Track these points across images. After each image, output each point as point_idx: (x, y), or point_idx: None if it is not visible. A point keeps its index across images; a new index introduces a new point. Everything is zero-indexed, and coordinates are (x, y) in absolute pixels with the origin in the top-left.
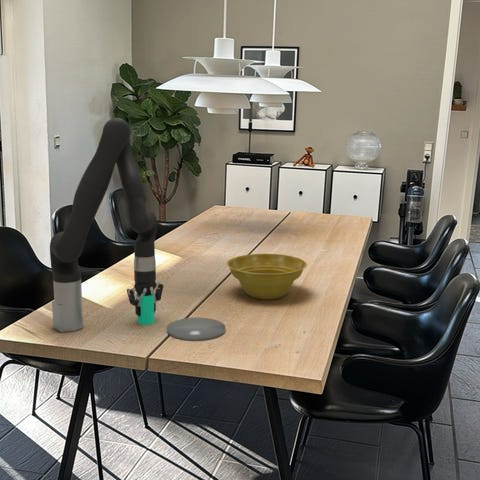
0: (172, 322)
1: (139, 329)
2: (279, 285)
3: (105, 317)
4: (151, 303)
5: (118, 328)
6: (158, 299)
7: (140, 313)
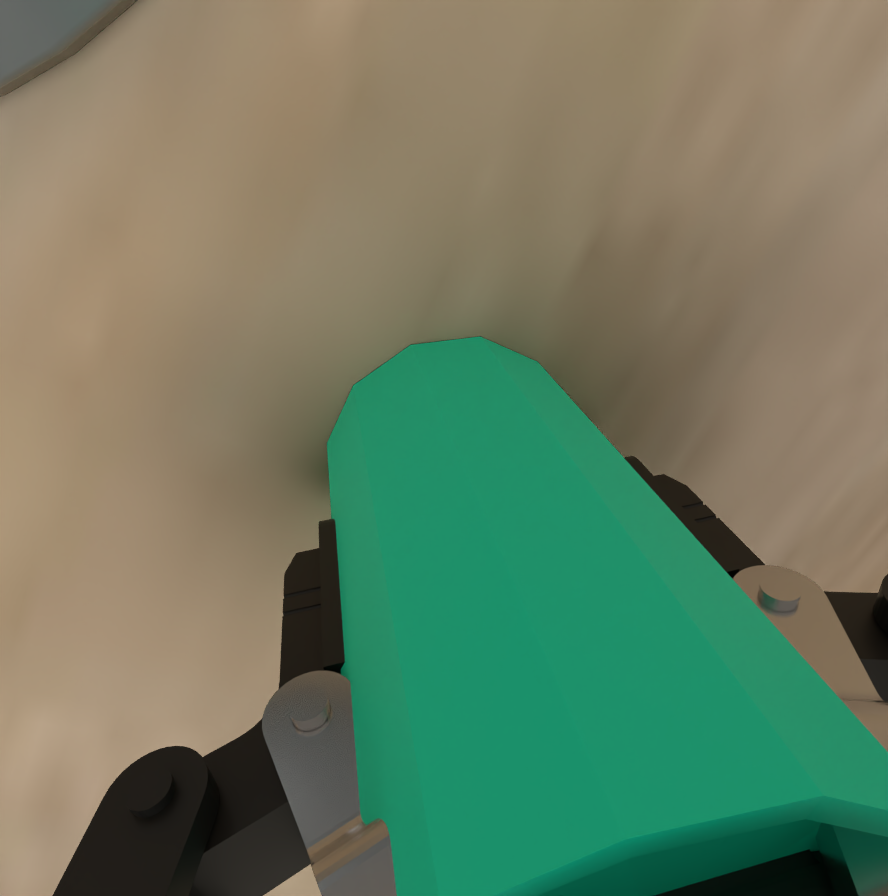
0: (34, 17)
1: (696, 183)
2: None
3: None
4: (507, 576)
5: (860, 369)
6: (190, 779)
7: None
